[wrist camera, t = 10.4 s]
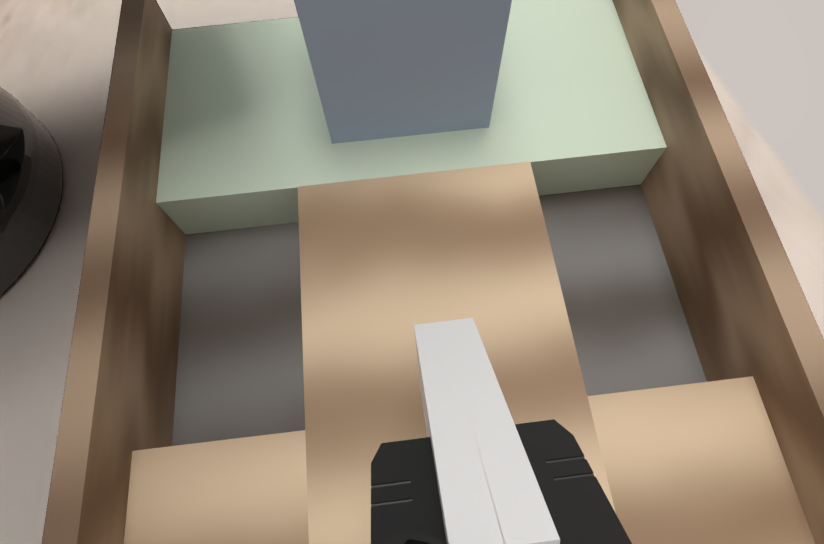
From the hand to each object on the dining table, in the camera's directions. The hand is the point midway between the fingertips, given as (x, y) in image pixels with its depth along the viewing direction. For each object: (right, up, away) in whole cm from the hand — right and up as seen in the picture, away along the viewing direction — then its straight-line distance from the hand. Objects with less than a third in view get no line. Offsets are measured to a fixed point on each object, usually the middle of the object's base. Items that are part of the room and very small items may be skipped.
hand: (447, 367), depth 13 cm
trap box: (0, +1, +10) cm, 10 cm away
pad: (-1, +10, +14) cm, 17 cm away
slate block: (-1, +12, +11) cm, 16 cm away
